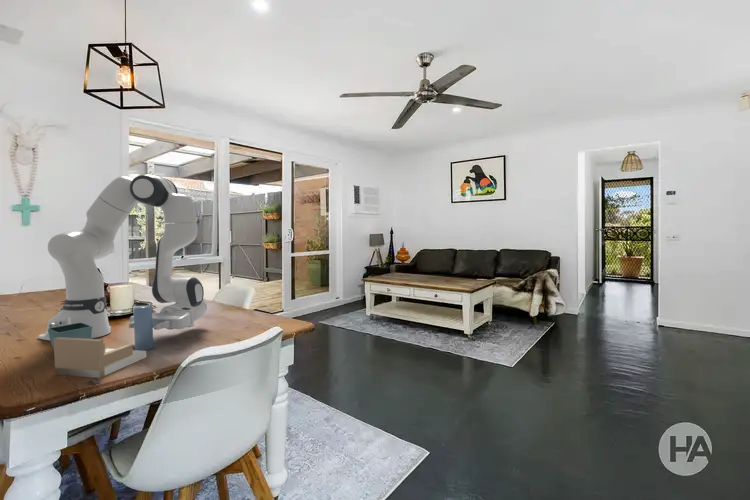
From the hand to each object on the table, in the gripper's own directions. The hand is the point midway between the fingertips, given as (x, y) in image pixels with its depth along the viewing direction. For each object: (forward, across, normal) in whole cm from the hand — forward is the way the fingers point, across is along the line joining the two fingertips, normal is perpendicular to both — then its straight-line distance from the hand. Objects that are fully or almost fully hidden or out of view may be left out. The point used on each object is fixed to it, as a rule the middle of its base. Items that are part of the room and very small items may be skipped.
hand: (143, 326), depth 120 cm
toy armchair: (+15, 0, +8) cm, 17 cm away
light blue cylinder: (0, 0, +8) cm, 8 cm away
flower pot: (+9, -18, +8) cm, 22 cm away
